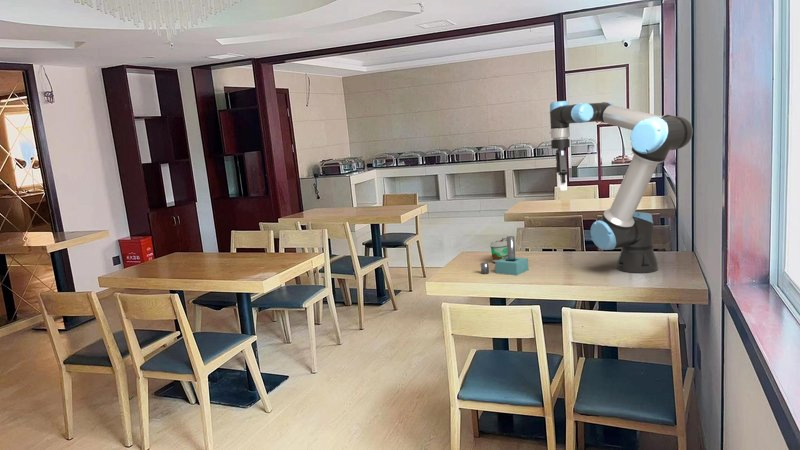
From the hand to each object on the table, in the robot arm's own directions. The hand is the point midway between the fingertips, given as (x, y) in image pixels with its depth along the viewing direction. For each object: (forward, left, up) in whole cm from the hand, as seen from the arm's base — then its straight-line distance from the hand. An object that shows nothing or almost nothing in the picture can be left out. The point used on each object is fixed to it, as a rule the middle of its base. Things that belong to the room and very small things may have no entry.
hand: (562, 188), depth 238 cm
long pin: (+14, +21, -33) cm, 41 cm away
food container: (+27, +6, -33) cm, 43 cm away
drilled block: (+14, +21, -33) cm, 41 cm away
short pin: (+23, +28, -33) cm, 49 cm away
